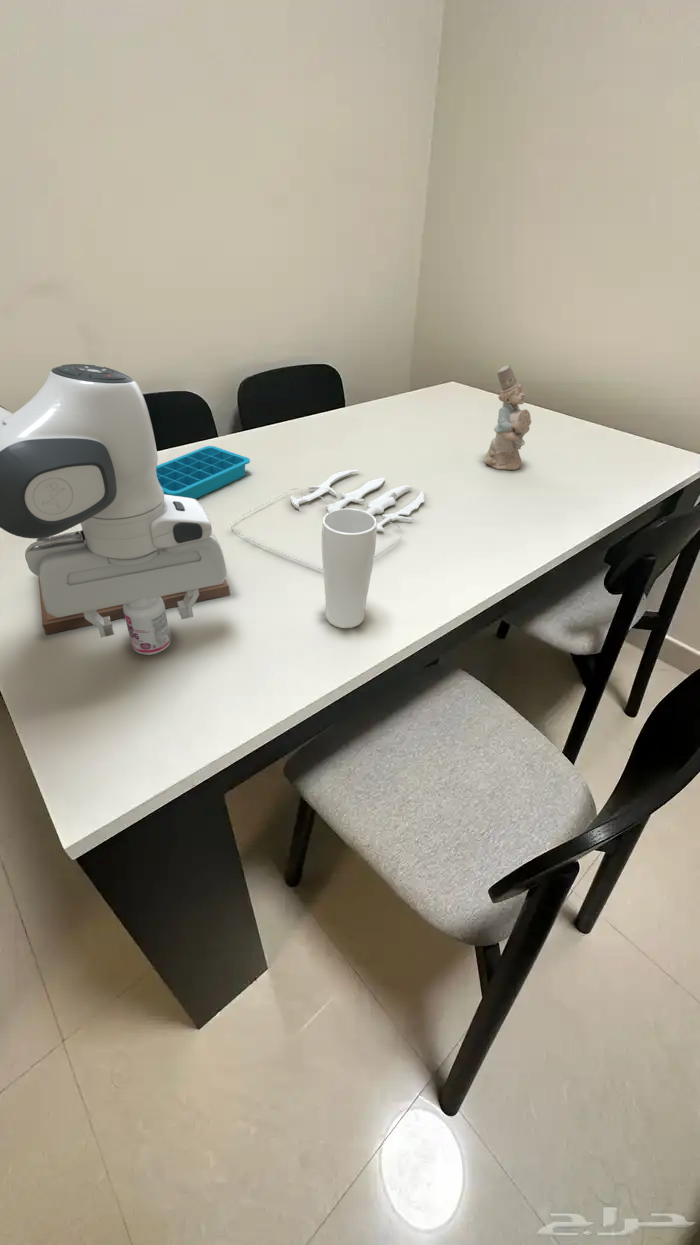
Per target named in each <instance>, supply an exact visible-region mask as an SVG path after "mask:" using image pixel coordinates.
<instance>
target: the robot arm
mask: <svg viewBox="0 0 700 1245" xmlns="http://www.w3.org/2000/svg"><path fill="white" fill-rule="evenodd" d="M157 466H158V450H157V445H156V439H155V434H154V429H153V424H152V420H151V416H150V412H149V409H148V405H147V403H146V400H145V396H144V394H143V392H142V389H141V388H140V386H139V384H138V383H137V381H136V380H134V379H133V378H132V377H130V376H129V375H127V374H125V373H122V372H121V371H118V370H116V369H114V368H113V369H112V368H110V367H106V366H99V365H95V364H84V363H69V364H68V363H67V364H62V365H59V366H56V367H53V368H51V370H50V371H49V373H48V376H47V379H46V381H45V382H44V384H43V385H42V387H41V388H40V389H39V390H38V391H37V392H36V394H34V396H32V398H31V399H29V400H28V401H27V402H26V403H25V404H24V405H22V406H21V407H20V408H19V409H18V410H16V411H15V412H11V411H10V410H8V409H7V408H6V407H4V406H3V405H0V529H2V530H3V531H5V532H7V533H9V534H11V535H13V536H17V537H18V538H19V537H20V538H24V539H32V540H33V539H34V540H35V539H36V541H35V542H33V543H31V544H30V545H28V547H27V548H26V549H25V552H24V557H25V561H26V563H27V568H28V569H29V570H30V572H31V573H32V574H34V575H35V576H36V577H38V576H39V577H40V584H41V592H42V597H43V602H44V605H45V609H46V612H47V613H49V614H51V615H52V616H54V617H57V618H59V617H64V616H69V615H74V614H79V613H84V616H85V619H86V620H88V621H89V622H90V623H92V625H93V626H94V627H96V628H98V631H99V634H100V638H105V637H110V636H113V635H115V632H114V628H113V624H112V620H110V617H109V616H107V617H101V616H100V615H99V614H98V613H97V610H98V609H103V608H108V607H112V606H117V605H122V604H127V603H132V602H136V601H139V600H141V599H145V598H146V599H151V598H156V597H161V596H166V595H170V594H175V593H180V592H185V591H186V595H185V597H184V600H182V601H178V602H177V605H178V606H177V611H178V614H179V616H180V620H184V619H185V620H186V619H190V618H193V617H194V613H193V612H194V611H193V607H194V605H195V604H196V603H197V602H196V600H197V598H198V596H199V588H204V587H209V586H214V585H219V584H221V583H222V582H223V581H224V579H226V578H227V576H228V572H227V565H226V561H225V556H224V553H223V549H222V547H221V544H220V543H219V541H218V538H217V537H216V535H215V534H214V533H215V532H213V528H212V523H211V520H210V517H209V514H208V512H207V511H206V509H205V507H203V505H202V504H201V503H200V502H199V501H198V500H197V499H193V498H187V497H179V496H172V495H166V494H164V492H163V489H162V487H161V485H160V483H159V481H158V478H157V473H156V467H157ZM77 525H80V526H81V530H77V531H72V532H65V531H68V530H70V529H71V528H75V527H76V526H77ZM63 532H65V533H63Z"/></svg>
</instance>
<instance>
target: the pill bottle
mask: <svg viewBox="0 0 700 1245" xmlns="http://www.w3.org/2000/svg"><path fill="white" fill-rule="evenodd" d="M123 612H124V616H125V617H124V619H125V623H126V624H125V625H126V628H127V631H128V635H129V639H130V645H131V647H132V650H134V651H135V652H136V653H138V654H141V655H145V656H146V655H147V656H151V655H156V654H158V653H159V654H160V653H161V652H163V651H164V650H166V648H168V647H169V646H170V644H171V633H170V632H171V631H170V627H169V621H168V617H167V616H168V615H167V611H166V609H165V605H164V602H163V599H162V598H161V597H156V598H151V599H146V598H145V599H141V600H139V601H136V602H132V603H127V604H124V605H123Z"/></svg>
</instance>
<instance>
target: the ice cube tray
mask: <svg viewBox="0 0 700 1245" xmlns="http://www.w3.org/2000/svg"><path fill="white" fill-rule="evenodd" d="M250 463H251V459H250V458H249V457H247V456H244V455H241V454H238V453H235V452H233V451H229V450H226V449H223V448H220V447H217V446H214V445H207V446H204V447H201V448H199V449H196V450H193V451H190V452H188V453H185V454H183V455H181V456H178V457H175V458H172V459H170V460H168V461H166V462H163V463H160V464H157V467H156V473H157V478H158V481H159V483H160V485H161V487H162V489H163V492H164V494H166V495H172V496H179V497H187V498H193V499H196V500H197V499H199V498H201V497H203V496H206V495H207V494H210V493H211V492H214V491H215V490H217V489H220V488H222V487H224V486H226V485H229V484H230V483H232V482H235V481H238V480H239V479H241V478H243V477H245V476H246V465H247V464H250Z"/></svg>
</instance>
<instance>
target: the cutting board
mask: <svg viewBox="0 0 700 1245" xmlns="http://www.w3.org/2000/svg"><path fill="white" fill-rule="evenodd" d="M37 577H38V589H39V601H40V609H41V611H40V612H41V622H42V628H43V630H44V633H45V635H51V634H55V633H59V632H64V631H68V630H73V629H78V628H82V627H87V626H91V625H93V624H92V623H90V622H89V621H88V620H86V619H85V616H84V613H79V614H74V615H69V616H64V617H59V618H57V617H54V616H52V615H51V614H49V613H47V612H46V609H45V605H44V602H43V597H42V592H41V584H40V577H39V576H37ZM185 595H186V591H185V592H180V593H175V594H170V595H166V596H161V598H162V599H163V602H164V605H165V610H166V609H170V608H175V607H178V605H177V602H178V601H182V600H184V597H185ZM230 595H231V593H230V585H229V583H228V581H227V579H226V578H225V579H224V581H223V582H222V583H221V584H219V585H214V586H209V587H204V588H199V596H198V598H197V600H196V602H195V603H199V602H203V601H208V600H213V599H217V598H222V597H226V596H230ZM123 605H124V604H122V605H117V606H112V607H108V608H103V609H98V610H97V613H98V614H99V615H100V616H101V617H107V616H109V617H110V620H111V621H115V620H119V619H125V616H124V612H123Z"/></svg>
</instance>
